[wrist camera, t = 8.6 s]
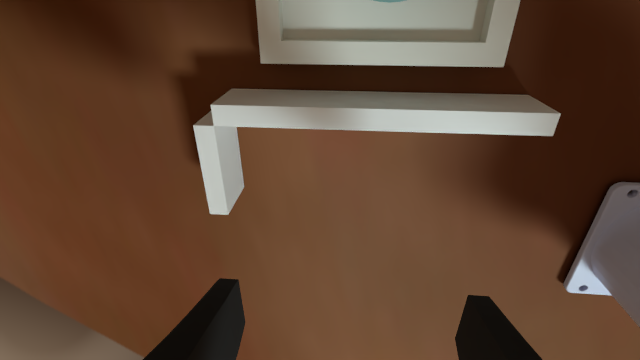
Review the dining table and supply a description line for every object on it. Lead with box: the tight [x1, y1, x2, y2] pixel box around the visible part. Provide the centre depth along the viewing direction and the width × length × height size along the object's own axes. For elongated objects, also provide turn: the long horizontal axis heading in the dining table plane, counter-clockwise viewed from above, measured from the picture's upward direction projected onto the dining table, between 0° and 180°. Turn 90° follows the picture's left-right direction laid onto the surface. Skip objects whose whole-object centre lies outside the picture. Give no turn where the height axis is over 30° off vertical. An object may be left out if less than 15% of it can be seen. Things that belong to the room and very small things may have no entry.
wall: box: [193, 89, 561, 215], centre depth 17 cm, size 16×6×3 cm, turn 90°
